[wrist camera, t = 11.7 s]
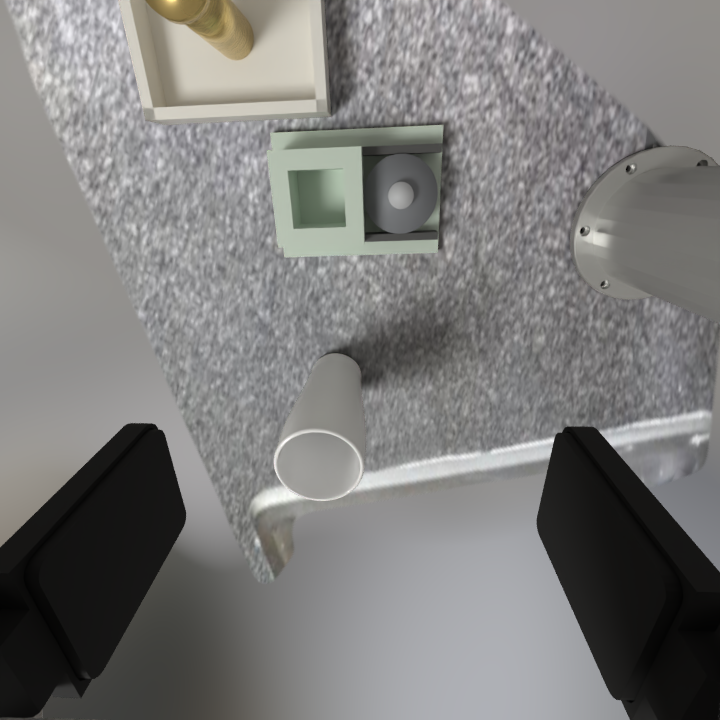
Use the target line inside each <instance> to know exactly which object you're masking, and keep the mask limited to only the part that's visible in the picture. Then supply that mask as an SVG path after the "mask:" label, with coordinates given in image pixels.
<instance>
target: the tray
mask: <svg viewBox="0 0 720 720" xmlns="http://www.w3.org/2000/svg"><path fill="white" fill-rule="evenodd" d="M118 1H119V6H120V10H121V15H122V19H123V23H124V28H125V32H126V37H127V41H128V45H129V50H130V54H131V59H132V63H133V67H134V72H135V76H136V81H137V85H138V90H139V94H140V98H141V103H142V107H143V112H144V116H145V120H146V121H150V122H154V123H158V124H162V125H177V124H197V123H218V122H239V121H260V120H280V119H301V118H322V117H331V101H330V84H329V66H328V49H327V32H326V14H325V0H232V2H233V3H234V4H235V5H236V6H237V8H238V9H239V10H240V11H241V12H242V14H243V15H244V16H245V17H246V18H247V20H248V21H249V23H250V25H251V27H252V30H253V34H254V43H253V47H252V50H251V52H250V53H249V55H248V56H247V57H245V58H244V59H242V60H231V59H229V58H227V57H225V56H224V55H223V54H222V53H220V52H219V51H218V50H216V49H215V48H214V47H213V46H211V45H210V44H209V43H208V42H206V41H205V40H204V39H203V38H201V37H200V36H199V35H198V34H196V33H195V32H194V31H192V30H191V29H190V28H189V27H187V26H186V25H180V24H175V23H172V22H170V21H168V20H167V19H165V18H164V17H162V16H161V15H160V14H158V13H157V12H156V11H155V10H153V9H152V8H151V7H150V6H149V5H148V3H147V2H146V1H145V0H118Z"/></svg>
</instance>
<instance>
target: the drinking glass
mask: <svg viewBox="0 0 720 720" xmlns="http://www.w3.org/2000/svg"><path fill="white" fill-rule="evenodd" d="M361 382H362V375H361V370H360V368H359V366H358V364H357V363H356V362H355V361H354V360H353V359H352V358H350V357H349V356H347V355H344V354H339V353H332V354H327V355H325V356H323V357H321V358H320V359H319V360H317V362H316V363H315V364H314V366H313V368H312V370H311V373H310V376H309V378H308V380H307V382H306V383H305V385H304V387H303V389H302V391H301V393H300V395H299V397H298V398H297V400H296V402H295V404H294V406H293V408H292V409H291V411H290V413H289V415H288V417H287V420H286V422H285V424H284V427H283V429H282V432H281V435H280V438H279V441H278V445H277V448H276V452H275V456H274V468H275V471H276V474H277V476H278V478H279V480H280V481H281V482H282V484H283V485H284V486H285V487H286V488H287V489H289V490H290V491H291V492H293V493H294V494H296V495H298V496H301V497H303V498H306V499H310V500H316V501H328V500H334V499H338V498H341V497H343V496H345V495H347V494H349V493H350V492H351V491H353V490H354V489H355V488H356V487H357V486H358V484H359V483H360V481H361V479H362V477H363V473H364V466H365V457H366V424H365V415H364V406H363V397H362V386H361Z"/></svg>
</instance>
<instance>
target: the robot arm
mask: <svg viewBox="0 0 720 720" xmlns="http://www.w3.org/2000/svg"><path fill="white" fill-rule="evenodd" d="M627 166H628V170H627V171H626V167H627ZM581 228H583V230H582V232H580V229H581ZM570 251H571V257H572V261H573V264H574V266H575V269H576V271H577V273H578V274H579V275H580V277H581V278H582V280H583V281H584V282H585V283H587V284H588V285H589V286H590V287H591V288H593V289H594V290H596V291H598V292H600V293H602V294H604V295H607V296H610V297H612V298H617V299H624V300H635V299H643V298H648V297H653V296H655V297H657V298H660V299H662V300H664V301H667V302H669V303H671V304H674V305H676V306H678V307H681V308H683V309H685V310H688V311H690V312H692V313H695V314H697V315H699V316H702V317H704V318H706V319H709V320H711V321H713V322H716V323H718V324H720V166H719V165H718V164H717V163H716V162H715V161H714V160H713V159H712V158H711V157H709V156H708V155H706V154H704V153H703V152H701V151H699V150H696V149H692V148H689V147H683V146H664V147H655V148H651V149H647V150H643V151H640V152H638V153H635V154H633V155H631V156H629V157H626V158H625V159H623V160H621V161H620V162H618V163H617V164H615V165H614V166H612V167H611V168H610V169H609V170H607V171H606V172H605V173H604V174H603V175H602V176H601V177H600V178H598V180H597V181H596V182H595V183H594V184H593V186H592V187H591V188H590V189H589V190H588V192H587V193H586V195H585V197H584V198H583V200H582V202H581V203H580V205H579V207H578V210H577V212H576V215H575V217H574V219H573V224H572V228H571V233H570ZM601 282H603V283H602V284H601ZM185 520H186V510H185V507H184V503H183V499H182V496H181V492H180V488H179V485H178V481H177V478H176V474H175V471H174V467H173V463H172V459H171V456H170V452H169V448H168V445H167V441H166V437H165V434H164V433H163V431H162V430H158V428H157V426H156V425H155V424H147V423H145V424H144V423H141V424H140V423H139V424H138V423H131V424H127V425H125V426H124V427H123V428H122V429H121V430H120V431H119V432H118V433H117V434H116V435H115V436H114V437H113V438H112V439H111V440H110V441H109V442H108V443H107V444H106V445H105V446H103V447H102V449H100V451H98V452H97V453H96V454H95V455H94V456H93V457H92V458H91V459H90V460H89V461H88V462H87V463H86V464H85V465H84V466H83V467H82V468H81V469H80V470H79V471H78V472H77V473H76V474H75V475H74V476H73V477H72V478H71V479H70V480H69V481H68V482H67V483H66V484H65V485H64V486H63V487H62V488H61V489H60V490H59V491H58V492H57V493H56V494H54V495H53V496H52V497H51V498H50V499H49V500H48V501H47V502H46V503H45V504H44V505H43V506H42V507H41V508H40V509H39V510H38V511H37V512H36V513H35V514H34V515H33V516H32V517H31V518H30V519H29V520H28V521H27V522H26V523H25V524H24V525H23V526H22V527H21V528H20V529H19V530H18V531H17V532H16V533H15V534H14V535H13V536H12V537H11V538H9V539H8V540H7V542H5V544H3V545H2V546H1V547H0V720H89V719H65V718H62V719H61V718H42V708H43V707H44V705H45V704H46V702H47V701H48V699H49V697H50V696H51V694H52V695H53V697H61V698H81V697H82V696H83V694H84V692H85V690H86V688H87V687H88V685H89V683H90V682H91V680H92V679H95V678H96V677H98V676H99V675H100V674H101V673H102V671H103V670H104V668H105V667H106V665H107V663H108V661H109V660H110V658H111V656H112V654H113V652H114V650H115V649H116V647H117V645H118V643H119V641H120V640H121V638H122V636H123V634H124V633H125V631H126V629H127V627H128V626H129V624H130V622H131V620H132V618H133V617H134V614H135V613H136V611H137V609H138V607H139V606H140V604H141V602H142V600H143V599H144V597H145V595H146V593H147V591H148V590H149V588H150V586H151V584H152V583H153V581H154V579H155V577H156V575H157V574H158V572H159V570H160V568H161V566H162V565H163V562H164V561H165V559H166V558H167V556H168V554H169V552H170V550H171V549H172V547H173V545H174V543H175V541H176V540H177V538H178V536H179V534H180V532H181V530H182V528H183V527H184V524H185ZM537 529H538V533H539V536H540V538H541V540H542V542H543V545H544V547H545V549H546V551H547V554H548V556H549V558H550V560H551V563H552V565H553V567H554V569H555V572H556V574H557V576H558V578H559V581H560V583H561V585H562V587H563V590H564V592H565V594H566V596H567V599H568V601H569V603H570V605H571V608H572V610H573V612H574V614H575V616H576V619H577V621H578V623H579V625H580V628H581V630H582V632H583V634H584V637H585V639H586V641H587V643H588V645H589V648H590V650H591V652H592V654H593V657H594V659H595V661H596V664H597V666H598V668H599V670H600V673H601V675H602V677H603V679H604V681H605V684H606V686H607V688H608V690H609V692H610V694H611V695H612V696H613V697H614V698H615V699H616V700H621V701H622V703H623V705H624V708H625V710H626V712H627V714H628V716H629V718H630V720H720V572H719V571H718V570H717V568H716V567H715V566H714V565H713V564H712V563H711V562H710V560H709V559H708V558H707V557H706V556H705V555H704V553H703V552H702V551H701V550H700V549H699V548H698V546H697V545H696V544H695V543H694V542H693V541H692V539H691V538H690V537H689V536H688V535H687V534H686V532H685V531H684V530H683V529H682V528H681V527H680V525H679V524H678V523H677V522H676V521H675V520H674V519H673V517H672V516H671V515H670V514H669V513H668V511H667V510H666V509H665V508H664V507H663V506H662V505H661V503H660V502H659V501H658V500H657V499H656V497H655V496H654V495H653V494H652V493H651V492H650V491H649V489H648V488H647V487H646V486H645V485H644V484H643V482H642V481H641V480H640V479H639V478H638V477H637V475H636V474H635V473H634V472H633V471H632V470H631V468H630V467H629V466H628V465H627V464H626V463H625V461H624V460H623V459H622V458H621V457H620V456H619V454H618V453H617V452H616V451H615V450H614V449H613V447H612V446H611V445H610V444H609V443H608V442H607V440H606V439H605V438H604V437H603V436H602V435H601V434H600V432H599V431H598V430H597V429H596V428H594V427H566V428H565V429H564V430H563V432H562V433H557V434H556V436H555V439H554V444H553V448H552V453H551V457H550V462H549V466H548V470H547V475H546V479H545V484H544V489H543V493H542V497H541V502H540V507H539V511H538V515H537ZM90 720H91V719H90Z"/></svg>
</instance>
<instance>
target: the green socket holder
mask: <svg viewBox="0 0 720 720" xmlns="http://www.w3.org/2000/svg"><path fill="white" fill-rule="evenodd" d="M270 135H271V144H272V150H267V158H268V166H269V175H270V183H271V191H272V200H273V208H274V216H275V225H276V233H277V241H278V248H281V247H283V248H284V257H314V256H346V255H378V254H409V253H438V236H439V213H440V190H441V168H442V145H443V125H429V126H407V127H386V128H365V129H343V130H322V131H300V132H279V133H270Z"/></svg>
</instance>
